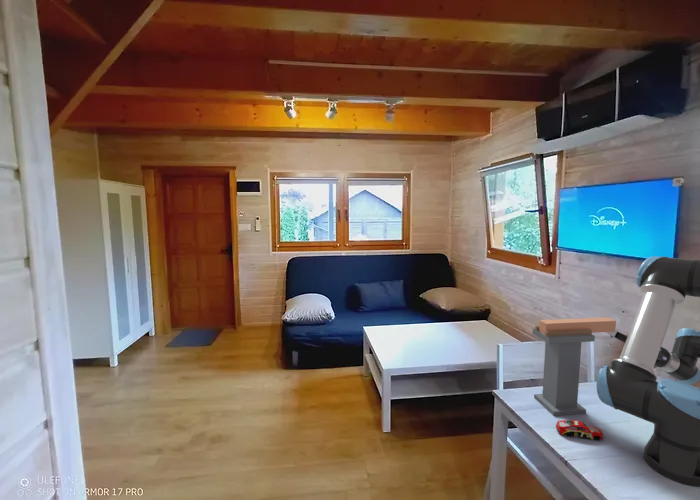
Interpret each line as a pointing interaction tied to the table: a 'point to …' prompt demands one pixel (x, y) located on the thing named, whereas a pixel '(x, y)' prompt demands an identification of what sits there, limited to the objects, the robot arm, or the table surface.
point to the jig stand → (562, 370)
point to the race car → (579, 430)
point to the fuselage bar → (578, 324)
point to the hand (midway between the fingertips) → (615, 331)
